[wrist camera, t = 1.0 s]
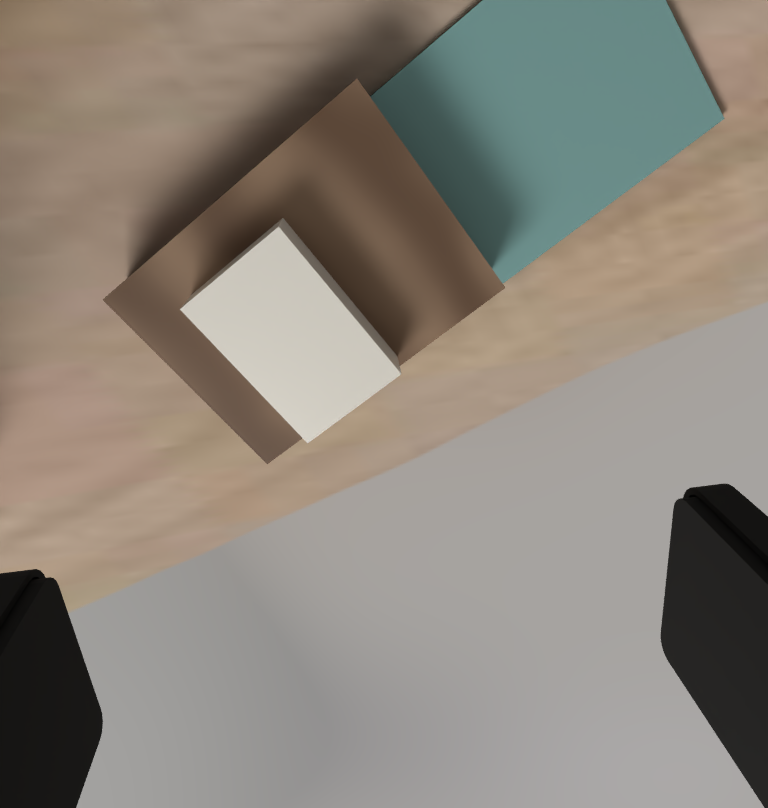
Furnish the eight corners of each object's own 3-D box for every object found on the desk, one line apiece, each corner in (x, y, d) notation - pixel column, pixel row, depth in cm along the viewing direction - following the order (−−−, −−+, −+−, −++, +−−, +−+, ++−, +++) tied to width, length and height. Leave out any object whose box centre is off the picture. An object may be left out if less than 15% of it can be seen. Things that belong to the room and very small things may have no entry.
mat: (607, -108, 30) (610, -110, 30) (720, 118, 35) (724, 118, 34) (367, 98, 33) (368, 98, 33) (498, 283, 38) (500, 285, 37)
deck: (355, 81, 33) (357, 78, 29) (489, 269, 37) (505, 287, 34) (126, 280, 36) (102, 299, 33) (273, 431, 40) (267, 464, 37)
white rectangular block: (283, 217, 31) (278, 226, 29) (397, 356, 35) (401, 374, 32) (191, 295, 33) (179, 309, 30) (309, 421, 36) (307, 443, 34)
